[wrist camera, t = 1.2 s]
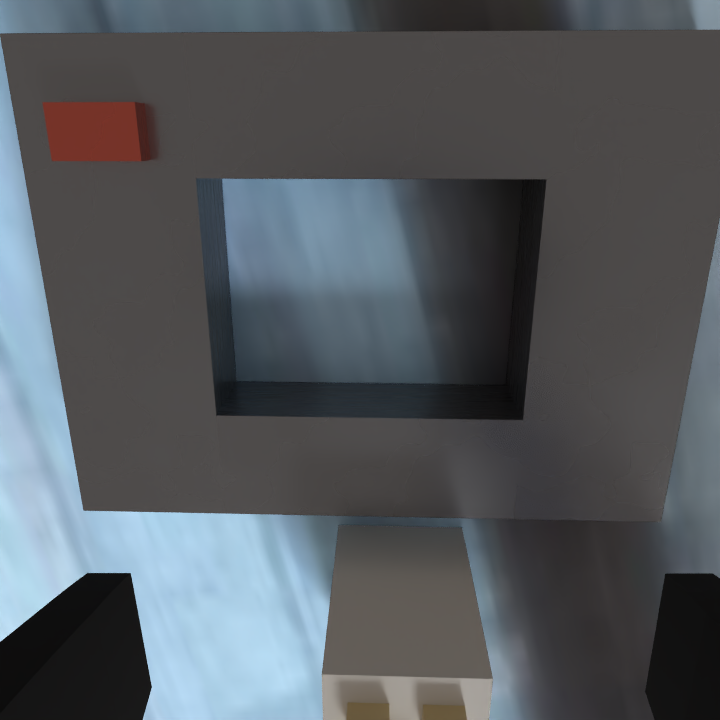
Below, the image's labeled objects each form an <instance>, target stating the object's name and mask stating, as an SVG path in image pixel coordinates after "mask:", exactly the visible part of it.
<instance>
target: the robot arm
mask: <svg viewBox="0 0 720 720" xmlns="http://www.w3.org/2000/svg"><path fill="white" fill-rule="evenodd" d="M151 688H152V686H151V681H150V675H149V670H148V664H147V659H146V654H145V648H144V643H143V637H142V632H141V626H140V621H139V616H138V610H137V605H136V599H135V594H134V588H133V583H132V578H131V573H87V574H86V575H84V576H83V577H82V578H80V579H79V580H77V581H76V582H75V583H73V584H72V585H71V586H70V587H68V588H67V589H66V590H64V591H63V592H62V593H61V594H59V595H58V596H57V597H56V598H54V599H53V600H52V601H51V602H49V603H48V604H47V605H46V606H44V607H43V608H42V609H41V610H39V611H38V612H37V613H36V614H34V615H33V616H32V617H31V618H29V619H28V620H27V621H26V622H24V623H23V624H22V625H21V626H20V627H18V628H17V629H16V630H15V631H13V632H12V633H11V634H10V635H8V636H7V637H6V638H5V639H3V640H2V641H1V642H0V720H143V716H144V713H145V709H146V706H147V702H148V699H149V695H150V692H151ZM645 692H646V695H647V698H648V701H649V704H650V707H651V710H652V713H653V716H654V719H655V720H720V578H718V577H717V576H715V575H714V574H665V579H664V584H663V590H662V596H661V602H660V608H659V614H658V620H657V626H656V632H655V637H654V643H653V649H652V655H651V661H650V667H649V673H648V679H647V685H646V690H645Z"/></svg>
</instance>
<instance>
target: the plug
mask: <svg viewBox="0 0 720 720" xmlns="http://www.w3.org/2000/svg"><path fill="white" fill-rule="evenodd" d="M492 683H493V677H492V672H491V667H490V662H489V658H488V653H487V648H486V643H485V638H484V633H483V628H482V623H481V618H480V613H479V608H478V603H477V598H476V593H475V589H474V584H473V579H472V574H471V569H470V564H469V559H468V554H467V549H466V544H465V539H464V534H463V529H462V527H419V526H371V525H339V526H338V535H337V544H336V553H335V562H334V571H333V579H332V588H331V597H330V606H329V615H328V624H327V633H326V642H325V651H324V660H323V669H322V697H323V720H489V715H490V704H491V694H492Z"/></svg>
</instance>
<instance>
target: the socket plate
mask: <svg viewBox="0 0 720 720" xmlns="http://www.w3.org/2000/svg"><path fill="white" fill-rule="evenodd" d="M0 37H1V43H2V49H3V54H4V60H5V66H6V71H7V77H8V83H9V89H10V94H11V100H12V106H13V111H14V117H15V123H16V128H17V134H18V140H19V145H20V151H21V157H22V163H23V168H24V174H25V180H26V185H27V191H28V197H29V202H30V208H31V214H32V220H33V225H34V231H35V237H36V242H37V248H38V254H39V259H40V265H41V271H42V276H43V282H44V288H45V294H46V299H47V305H48V311H49V316H50V322H51V328H52V333H53V339H54V345H55V351H56V356H57V362H58V368H59V373H60V379H61V385H62V390H63V396H64V402H65V407H66V413H67V419H68V425H69V430H70V436H71V442H72V447H73V453H74V459H75V464H76V470H77V476H78V482H79V487H80V493H81V499H82V504H83V510H84V511H133V512H182V513H232V514H282V515H331V516H381V517H431V518H480V519H530V520H579V521H629V522H661V519H662V514H663V509H664V503H665V498H666V493H667V488H668V483H669V477H670V472H671V467H672V462H673V457H674V452H675V446H676V441H677V436H678V431H679V426H680V420H681V415H682V410H683V405H684V400H685V395H686V389H687V384H688V379H689V374H690V369H691V363H692V358H693V353H694V348H695V343H696V337H697V332H698V327H699V322H700V317H701V312H702V306H703V301H704V296H705V291H706V286H707V280H708V275H709V270H710V265H711V260H712V255H713V249H714V244H715V239H716V234H717V229H718V223H719V218H720V30H583V31H391V32H199V33H7V34H0ZM222 178H231V179H524V180H523V192H522V203H521V215H520V226H519V238H518V250H517V261H516V273H515V285H514V296H513V308H512V319H511V331H510V343H509V354H508V366H507V378H506V385H459V384H383V383H307V382H236V369H235V355H234V341H233V328H232V314H231V300H230V286H229V272H228V259H227V245H226V231H225V217H224V203H223V190H222Z"/></svg>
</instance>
